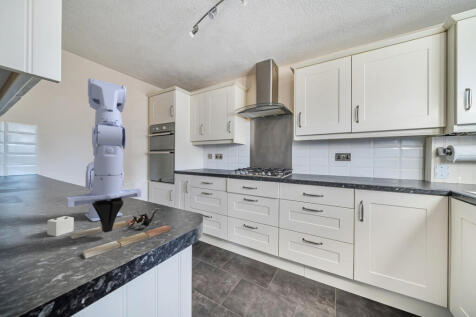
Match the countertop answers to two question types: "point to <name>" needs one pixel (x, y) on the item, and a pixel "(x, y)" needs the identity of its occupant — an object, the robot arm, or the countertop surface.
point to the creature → (145, 222)
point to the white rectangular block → (60, 226)
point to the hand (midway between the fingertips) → (107, 230)
